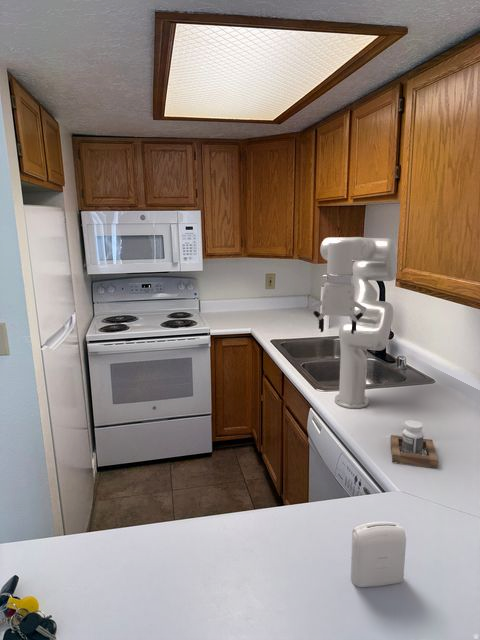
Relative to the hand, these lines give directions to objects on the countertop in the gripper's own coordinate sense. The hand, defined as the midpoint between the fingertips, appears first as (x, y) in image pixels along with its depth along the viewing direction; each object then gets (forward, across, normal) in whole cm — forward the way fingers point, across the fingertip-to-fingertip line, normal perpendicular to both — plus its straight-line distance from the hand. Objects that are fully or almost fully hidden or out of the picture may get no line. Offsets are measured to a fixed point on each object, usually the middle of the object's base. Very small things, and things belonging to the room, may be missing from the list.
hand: (337, 332), depth 138 cm
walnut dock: (+33, +24, -12) cm, 43 cm away
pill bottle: (+34, +24, -12) cm, 43 cm away
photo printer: (+34, +13, -62) cm, 72 cm away
